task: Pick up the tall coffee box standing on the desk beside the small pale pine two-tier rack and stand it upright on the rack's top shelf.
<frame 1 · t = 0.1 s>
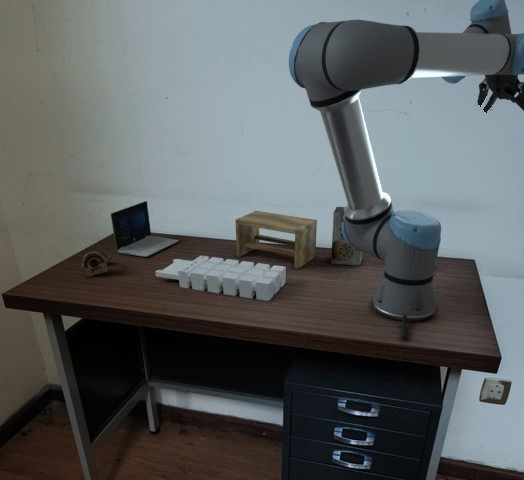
hand: (515, 135, 138), 36 cm above the table, tool tilted 35°, fingers open, 13 cm apart
soldier figurine: (415, 267, 150), on the table
coffee box: (346, 262, 155), on the table
two-tier rack: (275, 257, 159), on the table
brown rounded piece: (101, 270, 151), on the table
organizer: (219, 283, 141), on the table
laptop: (148, 248, 169), on the table
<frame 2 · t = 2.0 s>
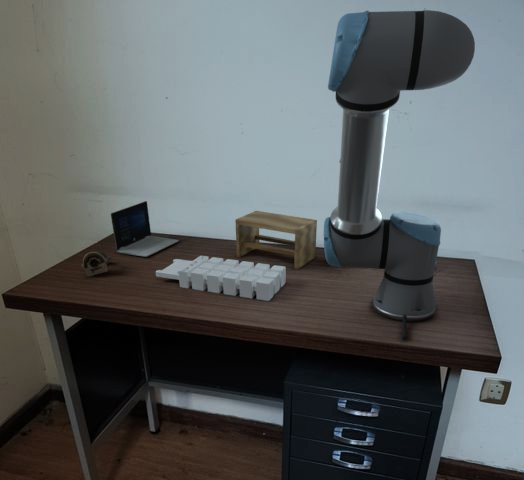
hand: (358, 184, 144), 23 cm above the table, tool pointing down, fingers open, 13 cm apart
nothing on the table moved.
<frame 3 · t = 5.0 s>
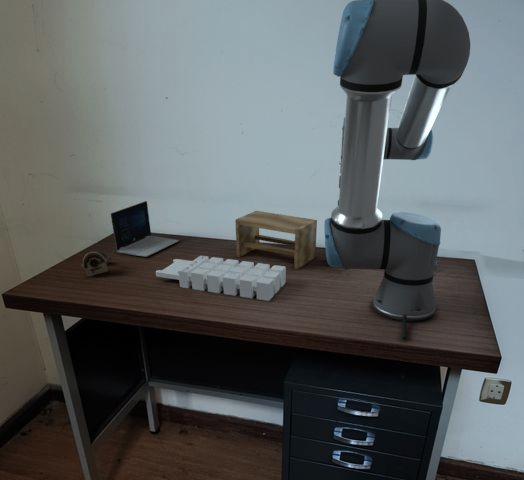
hand: (346, 251, 153), 3 cm above the table, tool pointing down, fingers closed on coffee box, 7 cm apart
coffee box: (346, 262, 155), on the table, touching gripper
everything else where it was.
when the fingers open (15 cm above the table, at t = 12.0 s): coffee box stays where it is, resting on two-tier rack.
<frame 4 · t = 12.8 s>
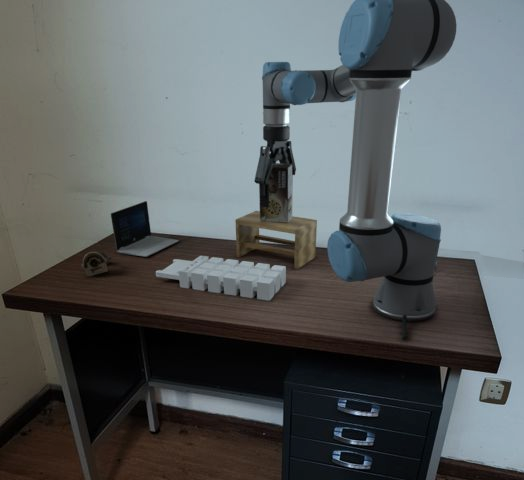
hand: (276, 201, 150), 17 cm above the table, tool pointing down, fingers open, 13 cm apart
coffee box: (276, 220, 153), point 12 cm above the table, touching two-tier rack
everything else where it was.
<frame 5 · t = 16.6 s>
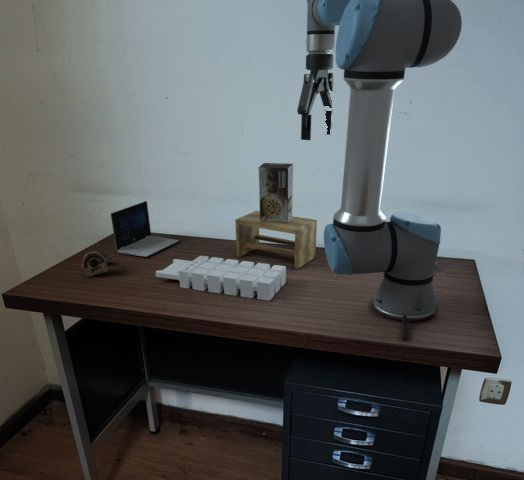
hand: (316, 137, 147), 35 cm above the table, tool pointing down, fingers open, 13 cm apart
nothing on the table moved.
at the end: coffee box inside the target area on the two-tier rack (0.0 cm from its centre), point 11.8 cm above the two-tier rack's base; coffee box tilted 0°; the gripper is holding nothing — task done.
